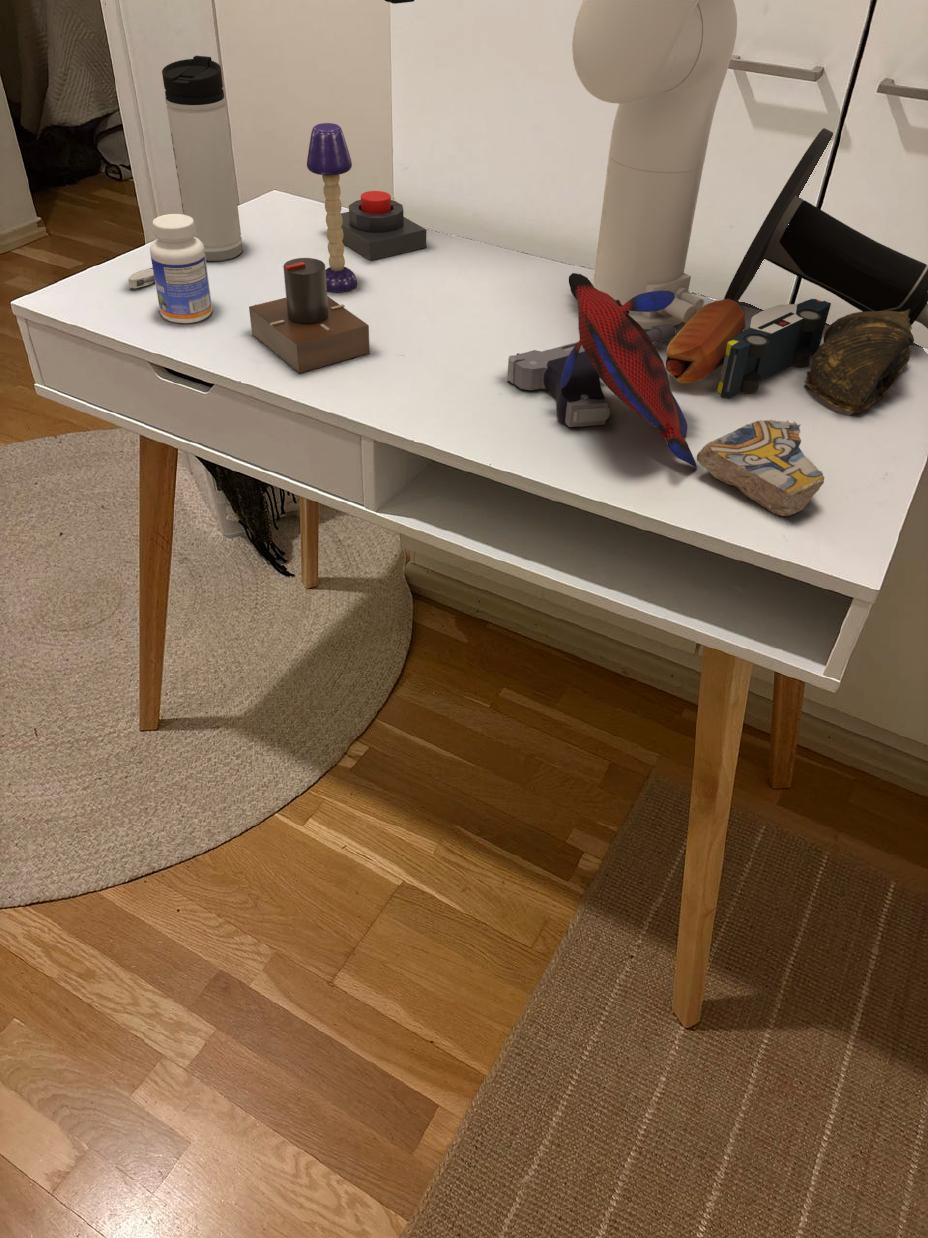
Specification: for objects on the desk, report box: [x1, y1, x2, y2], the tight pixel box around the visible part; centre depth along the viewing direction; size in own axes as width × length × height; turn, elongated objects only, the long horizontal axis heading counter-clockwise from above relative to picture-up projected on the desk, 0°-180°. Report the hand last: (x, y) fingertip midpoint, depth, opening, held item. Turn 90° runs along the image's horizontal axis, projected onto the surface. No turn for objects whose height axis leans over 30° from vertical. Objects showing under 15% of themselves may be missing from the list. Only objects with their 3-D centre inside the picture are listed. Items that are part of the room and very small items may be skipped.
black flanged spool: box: [723, 127, 928, 330], centre depth 103 cm, size 19×19×25 cm
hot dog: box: [665, 298, 746, 384], centre depth 98 cm, size 5×13×5 cm
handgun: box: [506, 324, 677, 428], centre depth 96 cm, size 3×20×12 cm
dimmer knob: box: [282, 257, 328, 324], centre depth 97 cm, size 4×4×5 cm
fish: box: [560, 272, 698, 469], centre depth 87 cm, size 20×12×15 cm
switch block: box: [340, 199, 428, 261], centre depth 121 cm, size 10×8×4 cm
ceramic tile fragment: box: [696, 419, 825, 517], centre depth 83 cm, size 12×3×10 cm
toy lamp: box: [306, 122, 358, 293], centre depth 106 cm, size 5×5×17 cm
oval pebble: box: [127, 267, 155, 289], centre depth 111 cm, size 6×2×1 cm, turn 152°
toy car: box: [716, 298, 832, 399], centre depth 98 cm, size 5×16×5 cm
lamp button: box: [360, 190, 392, 214], centre depth 119 cm, size 4×4×2 cm
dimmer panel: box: [248, 295, 371, 374], centre depth 100 cm, size 10×8×3 cm
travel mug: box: [161, 55, 244, 262], centre depth 112 cm, size 6×7×20 cm
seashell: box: [803, 309, 915, 414], centre depth 97 cm, size 16×9×7 cm, turn 148°
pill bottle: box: [149, 213, 213, 324], centre depth 102 cm, size 5×5×10 cm
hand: (399, 0), depth 111 cm, fingers closed
